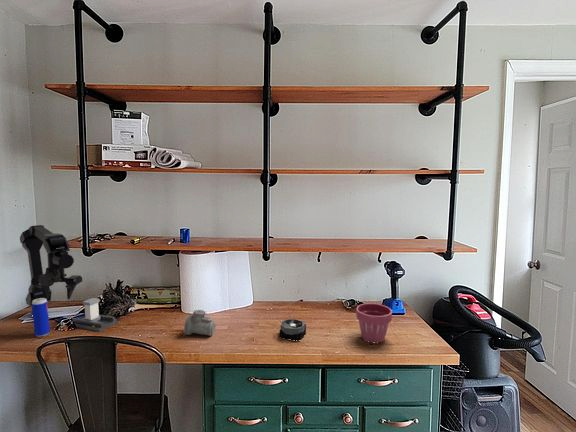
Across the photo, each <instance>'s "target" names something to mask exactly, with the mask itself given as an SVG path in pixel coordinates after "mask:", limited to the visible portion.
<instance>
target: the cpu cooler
mask: <svg viewBox="0 0 576 432" xmlns="http://www.w3.org/2000/svg"><path fill="white" fill-rule="evenodd" d="M304 335H305V336H306V335H307V323H306V322H305V320H300V319H298V318H297V319H296V318H287V319H284V320H282V321H281V322H280V329H279V338H280V337H281V338H285V339H286V340H287V339H291V340H295V341H296V340H297V341H298V340H301V341H302V339H303V338H304V337H305V336H304ZM281 338H280V339H281ZM285 339H284V340H285ZM291 340H290V341H291ZM295 341H294V342H295ZM297 341H296V342H297ZM298 342H299V341H298Z"/></svg>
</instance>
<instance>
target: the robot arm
mask: <svg viewBox="0 0 576 432" xmlns="http://www.w3.org/2000/svg"><path fill="white" fill-rule="evenodd" d="M19 242H20V244H21V246H22V248H23V249H24V250H25V251H26V252H27V258H28V263H29V264H28V265H29V272H30V285H29V287H28V293H27V295H26V297H25V303H26V305H28V306H31V309H32V301H33V300H35V299H38V298H46V300H47V302H50V301H51V299H52V293H53V292H52V290H51V288H50V287H52V286H54V284H56V283H65V286H64V287H65V289H66V297H67V301H68V300H70V299H71V297H72V295H73V292H74V290H75V288H76V286H77V285H79V284H80V283H82V282H83V277H82V276H81V274H80V275H79V274H77V275H76V274H75V275H71V276H69V277H67V273H66V272H65V269H69V268H71V267H72V266H73V265H74V264H75V259H74V257H73V256H72V255H71V254H69V251H70V250H71V246H70V244H69V242H68V240H67V238H66V237H65V236H64V235H63V234H62V233H54V232H52V231H50V230H49V229H47V228H46V227H45V226H44V225H43V224H38V225H30V226H29V227H28V229H26V230H23V231H22V233H21V234H20V236H19ZM42 247H44V249H45V251H46V253H47V267H45V272H43V263H42V257H41V249H42ZM31 314H32V315H33V311H32V310H31V313H30V315H31Z"/></svg>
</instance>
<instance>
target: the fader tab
mask: <svg viewBox="0 0 576 432" xmlns="http://www.w3.org/2000/svg"><path fill="white" fill-rule="evenodd" d="M100 300H101V299H100V298H95V297H92V298H89V299H86V300H84V301H82V305H84V317H85V318H84V319H85V320H91V321H98V320H100V319H101V316H99V315H100V312H99V311H100V310H99V303H100Z"/></svg>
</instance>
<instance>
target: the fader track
mask: <svg viewBox="0 0 576 432" xmlns="http://www.w3.org/2000/svg"><path fill="white" fill-rule="evenodd" d="M99 316H101V319H100V320H98V321H91V320H85V319H84V318H85V316H84V317H81V318H79V317H74V318H72V322H73V321H74V322H76V323H74V324H75V325H76V327H77V329H83V330H89V331H94V332H99V333H100V332H101V331H103V330H105V329H107V328H110V327H111V326H113V325H115V324H117V323H118V319H117V318H116V316H111V315H104V314H99ZM76 327H75V328H76Z"/></svg>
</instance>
